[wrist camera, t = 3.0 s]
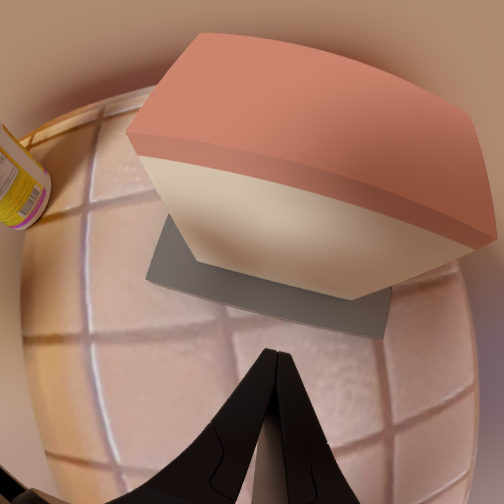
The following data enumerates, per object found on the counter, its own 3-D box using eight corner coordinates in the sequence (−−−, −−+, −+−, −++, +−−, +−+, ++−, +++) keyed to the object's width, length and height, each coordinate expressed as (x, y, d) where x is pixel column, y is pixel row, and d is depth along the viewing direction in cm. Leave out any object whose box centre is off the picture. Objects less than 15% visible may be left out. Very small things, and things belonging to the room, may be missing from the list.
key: (350, 300, 17) (497, 239, 5) (197, 261, 17) (125, 132, 6) (361, 229, 18) (469, 115, 7) (220, 191, 19) (201, 32, 7)
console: (373, 338, 18) (383, 338, 16) (152, 283, 18) (145, 279, 17) (389, 158, 22) (396, 148, 21) (220, 112, 23) (219, 101, 21)
